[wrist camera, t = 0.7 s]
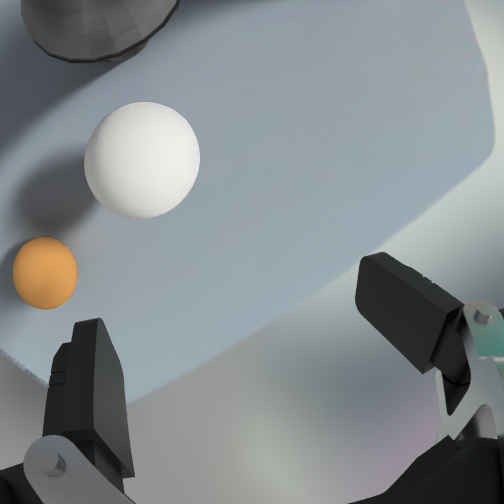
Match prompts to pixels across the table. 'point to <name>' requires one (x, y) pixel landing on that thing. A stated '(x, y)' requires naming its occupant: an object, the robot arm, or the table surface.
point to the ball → (45, 273)
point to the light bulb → (141, 160)
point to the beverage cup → (95, 27)
